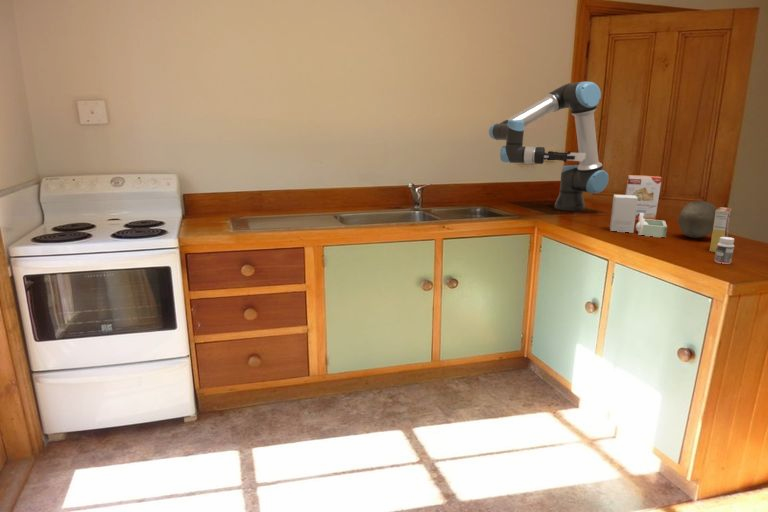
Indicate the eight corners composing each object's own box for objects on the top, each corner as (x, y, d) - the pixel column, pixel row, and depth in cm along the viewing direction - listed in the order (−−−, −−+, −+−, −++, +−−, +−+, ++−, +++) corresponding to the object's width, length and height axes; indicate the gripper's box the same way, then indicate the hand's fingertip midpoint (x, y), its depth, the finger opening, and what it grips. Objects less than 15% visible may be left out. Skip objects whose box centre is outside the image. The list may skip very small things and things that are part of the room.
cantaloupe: (668, 234, 211) (674, 198, 207) (702, 234, 211) (709, 199, 207) (686, 242, 197) (693, 204, 194) (723, 242, 197) (730, 204, 193)
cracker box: (622, 219, 242) (628, 175, 236) (622, 217, 247) (627, 174, 242) (655, 222, 237) (662, 177, 231) (654, 220, 242) (660, 176, 237)
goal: (637, 228, 222) (639, 212, 220) (663, 230, 218) (665, 214, 216) (638, 235, 208) (640, 218, 206) (665, 238, 204) (668, 220, 202)
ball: (648, 220, 214) (645, 231, 216) (636, 218, 215) (633, 229, 217) (651, 223, 209) (648, 235, 211) (638, 222, 210) (635, 233, 212)
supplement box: (631, 229, 220) (636, 195, 216) (633, 233, 212) (638, 197, 208) (609, 227, 223) (613, 193, 219) (610, 231, 215) (614, 196, 211)
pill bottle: (710, 260, 171) (715, 236, 169) (724, 260, 172) (728, 236, 169) (720, 264, 167) (725, 239, 165) (734, 264, 167) (739, 239, 165)
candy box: (712, 247, 190) (719, 206, 186) (725, 248, 187) (733, 208, 183) (708, 251, 183) (715, 209, 180) (722, 253, 181) (730, 211, 177)
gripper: (538, 161, 244) (585, 163, 236) (529, 165, 222) (581, 167, 214) (539, 145, 242) (587, 147, 234) (531, 148, 220) (583, 149, 212)
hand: (584, 157), depth 224 cm, fingers open, 13 cm apart
